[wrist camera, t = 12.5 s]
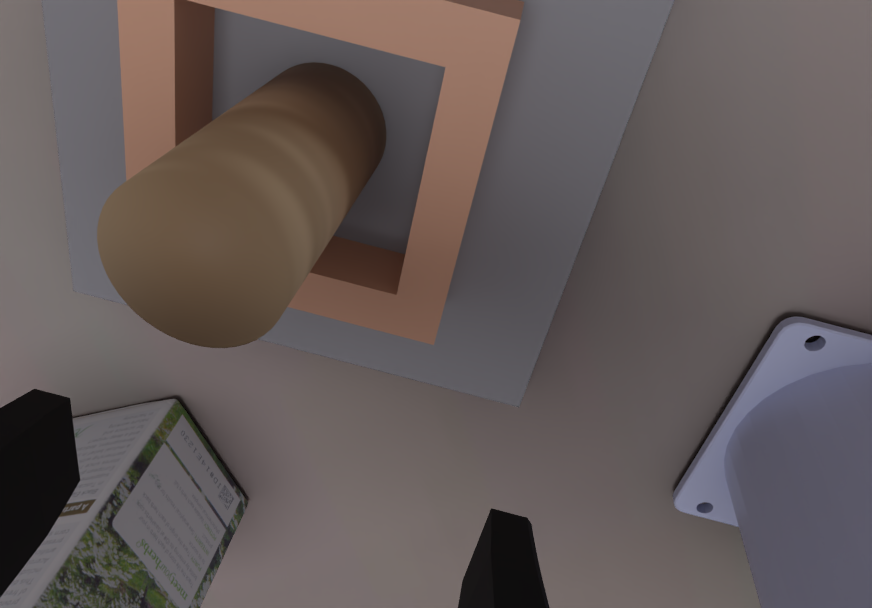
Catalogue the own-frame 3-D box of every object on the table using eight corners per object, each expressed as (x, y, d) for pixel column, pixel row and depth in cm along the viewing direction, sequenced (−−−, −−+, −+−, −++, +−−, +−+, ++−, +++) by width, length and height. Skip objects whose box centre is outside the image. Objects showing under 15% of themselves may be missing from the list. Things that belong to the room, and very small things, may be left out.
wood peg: (397, 82, 16) (299, 204, 10) (374, 204, 18) (279, 368, 12) (265, 46, 16) (91, 146, 10) (255, 171, 18) (102, 319, 12)
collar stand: (712, -127, 14) (747, -124, 11) (519, 386, 22) (515, 455, 19) (40, -299, 14) (-73, -334, 11) (91, 274, 22) (32, 328, 19)
